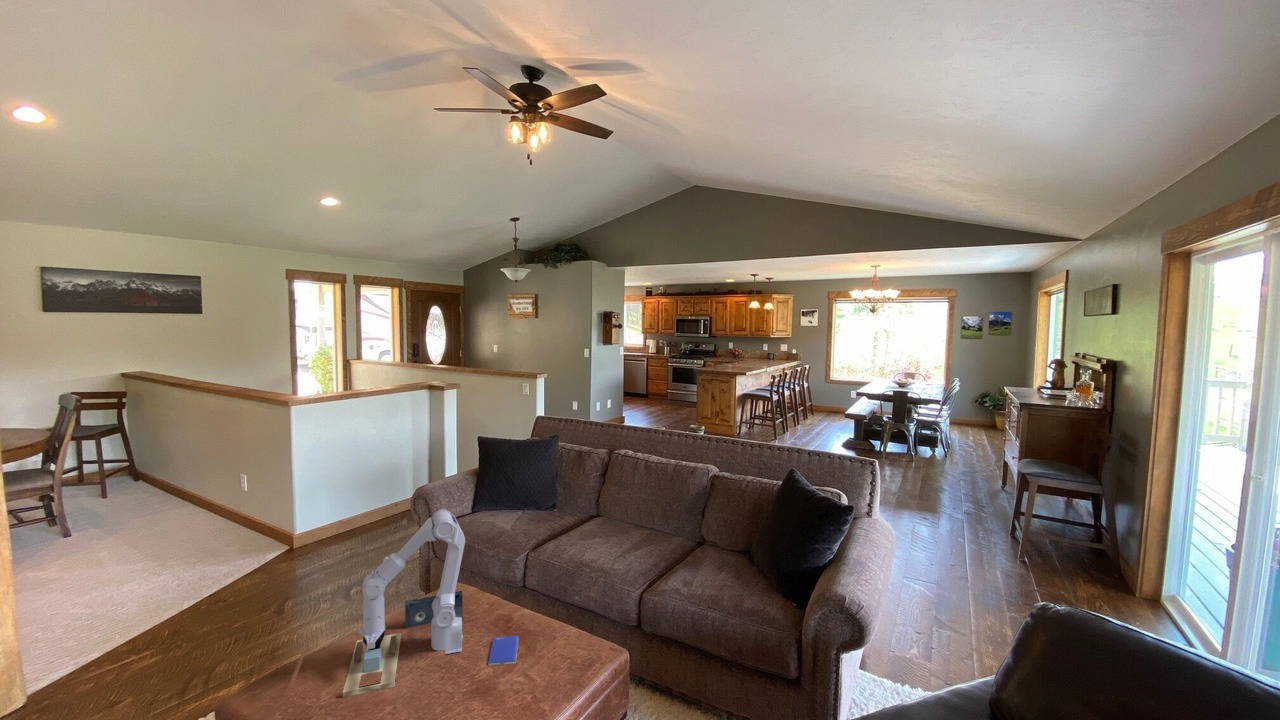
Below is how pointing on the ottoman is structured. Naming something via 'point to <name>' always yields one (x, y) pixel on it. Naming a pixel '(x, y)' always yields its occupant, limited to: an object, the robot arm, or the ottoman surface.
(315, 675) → the ottoman surface
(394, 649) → the cream flat tray
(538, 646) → the ottoman surface
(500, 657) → the blue book
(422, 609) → the vhs cassette tape
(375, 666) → the blue block
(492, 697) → the ottoman surface
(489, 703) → the ottoman surface
